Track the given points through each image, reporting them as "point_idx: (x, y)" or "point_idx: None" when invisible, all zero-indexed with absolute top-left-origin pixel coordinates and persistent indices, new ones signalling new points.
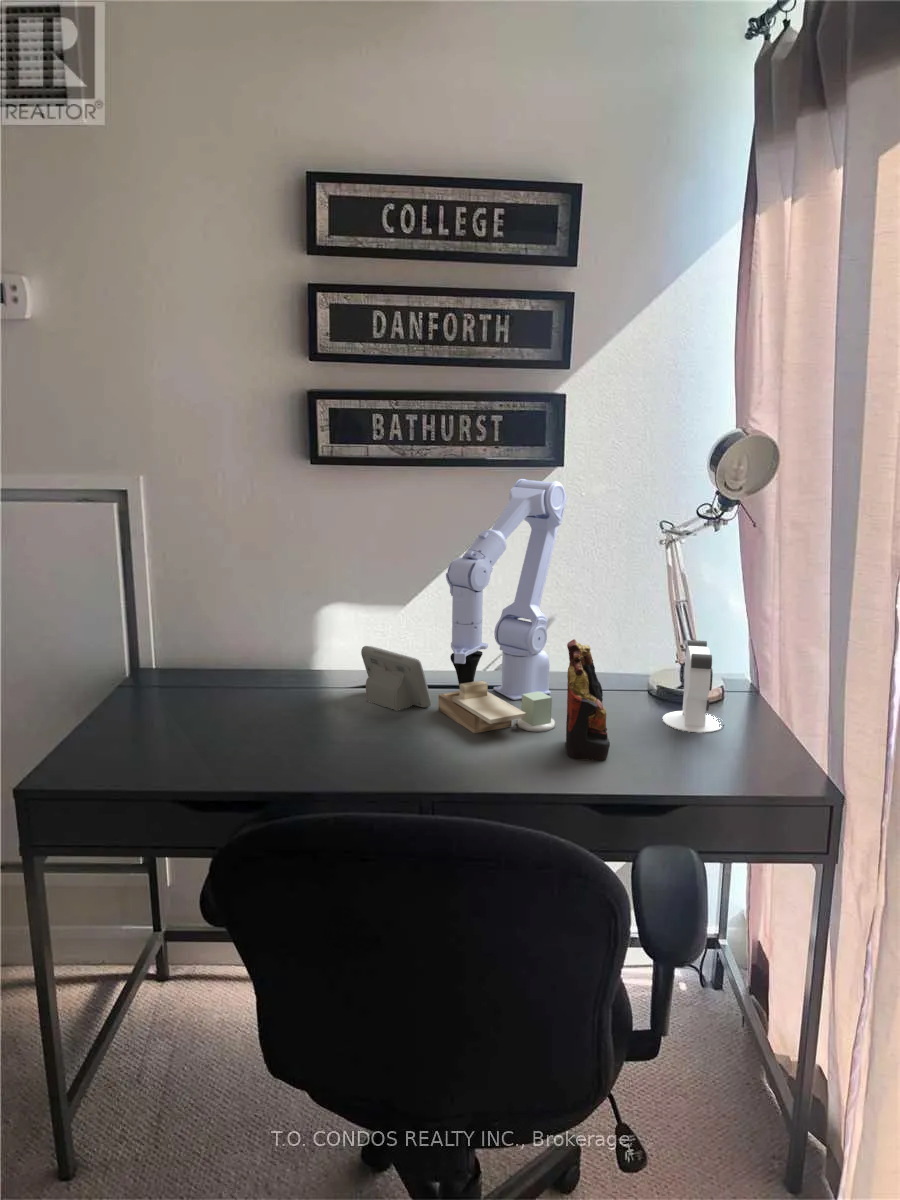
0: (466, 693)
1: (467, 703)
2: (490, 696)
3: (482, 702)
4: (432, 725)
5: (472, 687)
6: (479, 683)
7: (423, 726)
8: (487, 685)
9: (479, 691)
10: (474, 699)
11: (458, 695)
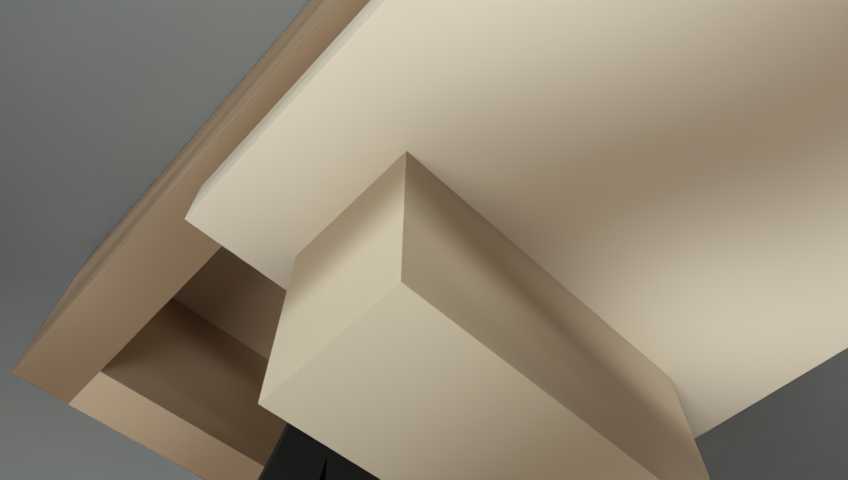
0: (677, 424)
1: (837, 311)
2: (428, 92)
3: (768, 137)
4: (756, 404)
5: (631, 436)
6: (470, 401)
7: (786, 447)
8: (400, 252)
9: (518, 296)
10: (640, 273)
11: (261, 443)
